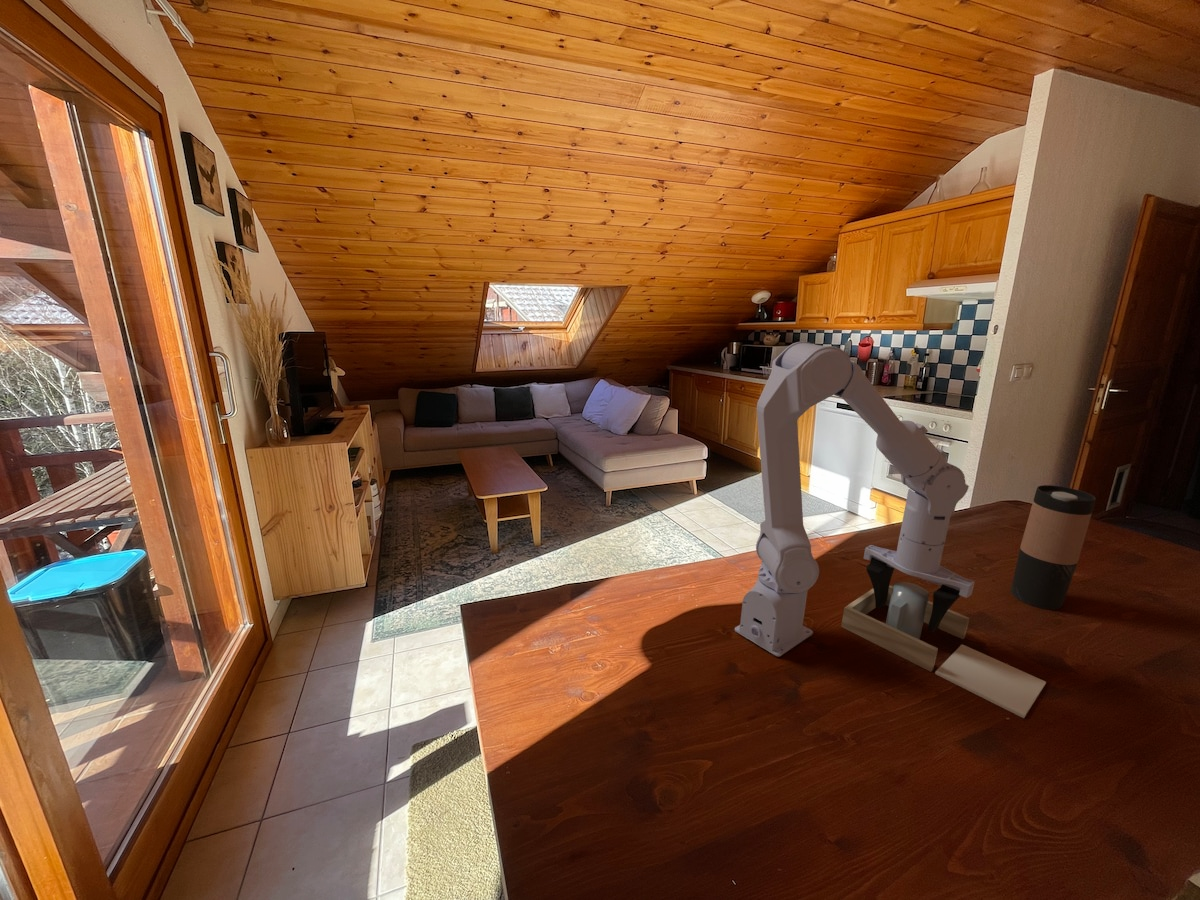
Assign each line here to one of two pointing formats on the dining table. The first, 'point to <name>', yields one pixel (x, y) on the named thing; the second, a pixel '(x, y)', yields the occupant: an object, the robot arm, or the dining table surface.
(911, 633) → the grey domed cylinder
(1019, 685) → the coaster
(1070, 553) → the travel mug
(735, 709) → the dining table surface
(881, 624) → the frame
